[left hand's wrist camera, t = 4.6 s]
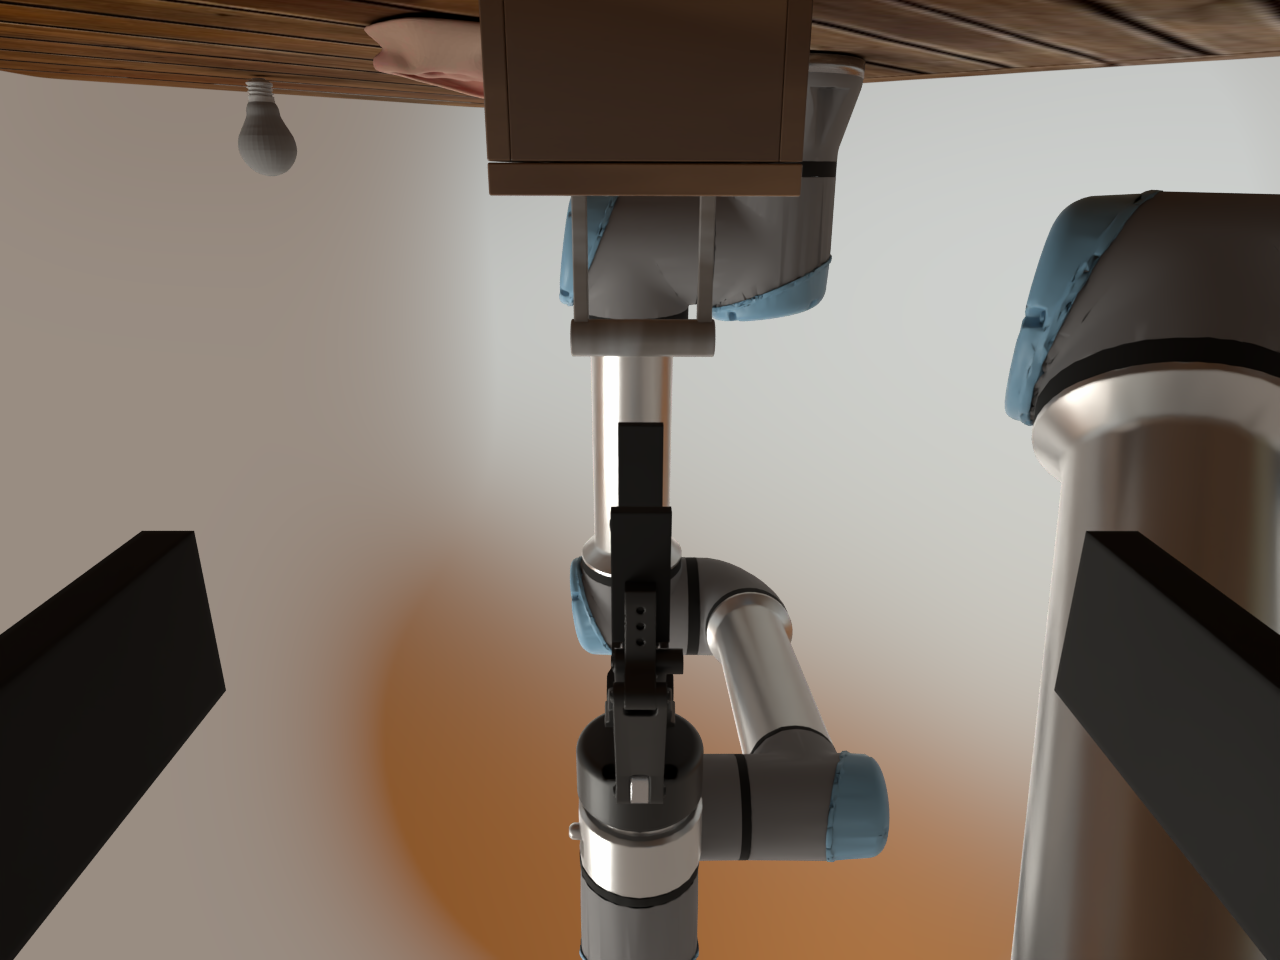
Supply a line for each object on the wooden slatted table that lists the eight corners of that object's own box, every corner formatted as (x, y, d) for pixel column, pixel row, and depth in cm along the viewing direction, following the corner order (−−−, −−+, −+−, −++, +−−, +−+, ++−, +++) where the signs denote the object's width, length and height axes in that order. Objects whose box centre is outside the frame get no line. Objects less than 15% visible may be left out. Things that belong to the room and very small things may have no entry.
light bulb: (277, 75, 89) (290, 176, 93) (295, 81, 95) (307, 175, 98) (218, 74, 89) (234, 176, 92) (240, 80, 95) (254, 175, 98)
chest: (756, -58, 38) (747, 165, 41) (531, -59, 38) (539, 164, 41) (825, -193, 24) (802, 161, 27) (467, -194, 24) (486, 161, 27)
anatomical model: (374, 81, 55) (547, 87, 59) (368, 12, 54) (545, 23, 57) (365, 97, 67) (509, 101, 71) (359, 41, 66) (506, 48, 69)
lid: (745, 166, 42) (737, 344, 45) (541, 165, 42) (547, 343, 45) (802, 163, 27) (785, 429, 30) (487, 162, 27) (501, 428, 30)
